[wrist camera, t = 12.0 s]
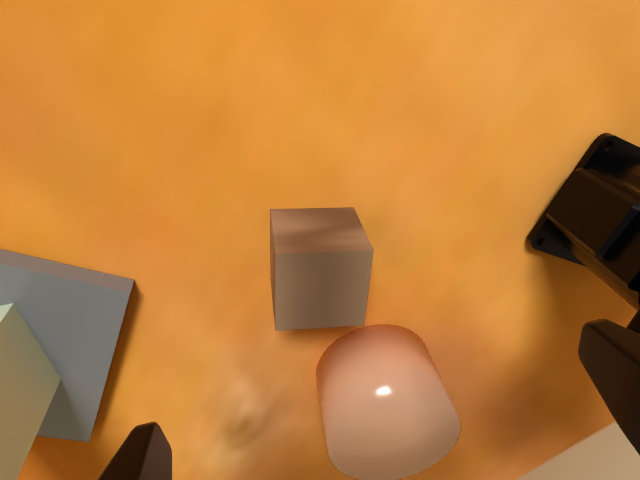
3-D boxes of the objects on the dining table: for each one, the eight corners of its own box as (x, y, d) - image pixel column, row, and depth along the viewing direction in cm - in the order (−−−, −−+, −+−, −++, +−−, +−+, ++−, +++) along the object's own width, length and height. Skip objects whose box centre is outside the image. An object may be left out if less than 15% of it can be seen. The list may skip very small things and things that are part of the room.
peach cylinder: (446, 332, 27) (483, 400, 23) (403, 411, 31) (428, 484, 26) (335, 316, 26) (353, 387, 21) (302, 402, 29) (311, 478, 25)
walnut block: (353, 206, 22) (373, 250, 19) (346, 274, 24) (364, 325, 21) (269, 208, 22) (275, 253, 18) (270, 278, 24) (275, 330, 20)
